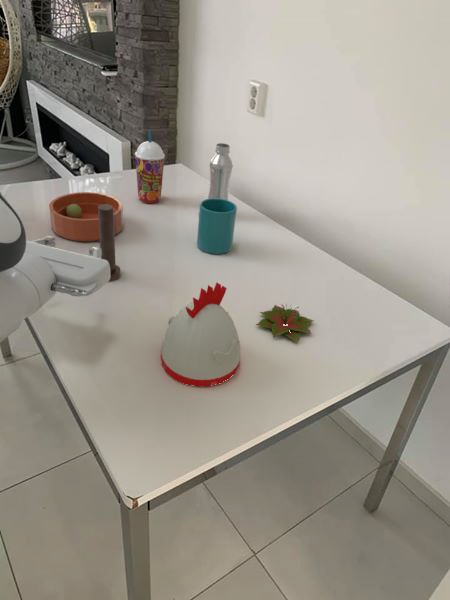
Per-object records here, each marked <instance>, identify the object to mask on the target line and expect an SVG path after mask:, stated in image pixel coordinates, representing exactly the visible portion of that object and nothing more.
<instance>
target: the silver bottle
mask: <svg viewBox="0 0 450 600" xmlns="http://www.w3.org/2000/svg"><path fill="white" fill-rule="evenodd" d="M230 153H231V151H230V145H229V144H227V143H223V142H222V143H221V142H218V143H216V146H215V155H213V156H212V158H211V159H210V162H209V190H208V194H207V199H212V198H217V199H224V200H228V201H229V185H230V180H231V175H232V171H233V166H234V165H233V162H232V159H231V157H230V155H229V154H230Z"/></svg>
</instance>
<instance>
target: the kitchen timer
mask: <svg viewBox="0 0 450 600" xmlns="http://www.w3.org/2000/svg"><path fill="white" fill-rule="evenodd" d="M227 289H228V288H227V287H226V286H224V285H222V284H221V283H219V282H216V283H215V286H214V288H213V287H212V286H211V285H209V284H208V285H207V288H206V289H204V288H202V287H201V288H200V292H199V295H198V299H197V298H195V297H192V302H190V303H189V304H187V305H186V306H183V307H182V309H180V310H179V311H178V313H176V315H175V316H170V317H169V318H168V320H167V325H168V327H167V329H166V332H165V334H164V337H163V341H162V344H161V348H160V363H161V362H162V363H161V366H162V368H163V370H164V369H165V370H164V371H165V373H166V374H167V375H168V376H169V375H170V376H169V377H171V378H172V379H173V380H174V381H176V380H177V381H176V382H178V381H179V383H180V382H181V384H183V383H184V384H183V385H185V384H188V385H187V386H190V385H194V386H211V385H215V384H219V383H222V382H223V381H225V380H227V379H229V378H230V377H231V376H232V375H233V374H235V373H237V372H238V370H237V369H239V368H240V364H241V363H240V362H241V340H240V338H239V334H238V330H237V328H236V325H235V322H234V320H233V318H232V317H231V315H230V314H229V312H228V311H226V309H225V308H224V307H223V306H222V305H221V304H222V301H223V299H224V296H225V294H226V292H227ZM238 367H239V368H238ZM236 371H237V372H236ZM235 375H236V374H235ZM229 380H230V379H229ZM222 384H223V383H222ZM194 386H193V387H194ZM211 387H212V386H211Z"/></svg>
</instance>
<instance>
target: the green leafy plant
mask: <svg viewBox="0 0 450 600" xmlns="http://www.w3.org/2000/svg"><path fill="white" fill-rule="evenodd" d="M292 304H293V303H291V304H290V306H292ZM280 305H281V306H278V305H276V304H274V305H273V307H272V309H271V310H270V309H269V310H265V311H260V312H259V313H260V314H261V315H262V316H263V317H265V318H262V319H261V320H259V322H258V323H256V324H255V326H259V327H263V328H267V329H271V331H272V334H273V335H272V338H273V339H274V338H276V337H278V336H280V335H284V336H286V337H287V338H289V339H290V340H292V341H294V342H295V343H297V344H298V341H299V339H300V337H301V332H302V333H305V334H308V335H313V333H312V332H311V330H310V329H309V328H310V327H308V326H309V325H310V324H312V323H313V322H314V320H313V319H310V318H307V317H306V316H301V315H300V311H299V310H297V309H299V306H297V307H295V308H294V309H292V308H293V307H290V308H287V307H288V305H287V304H285V305H283V304H280ZM285 306H286V307H285ZM283 324H285V325H286V324H288V326H283ZM289 330H290V332H291V333H290V332H289Z"/></svg>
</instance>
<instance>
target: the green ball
mask: <svg viewBox="0 0 450 600" xmlns="http://www.w3.org/2000/svg"><path fill="white" fill-rule="evenodd" d="M66 214H67V216H68V217H70V218H77V219H79V218H80V217H81V215H82V209H81V208H80V207H79V206H78V205H76V204H71V205H69V206H68V207H67V209H66Z"/></svg>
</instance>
